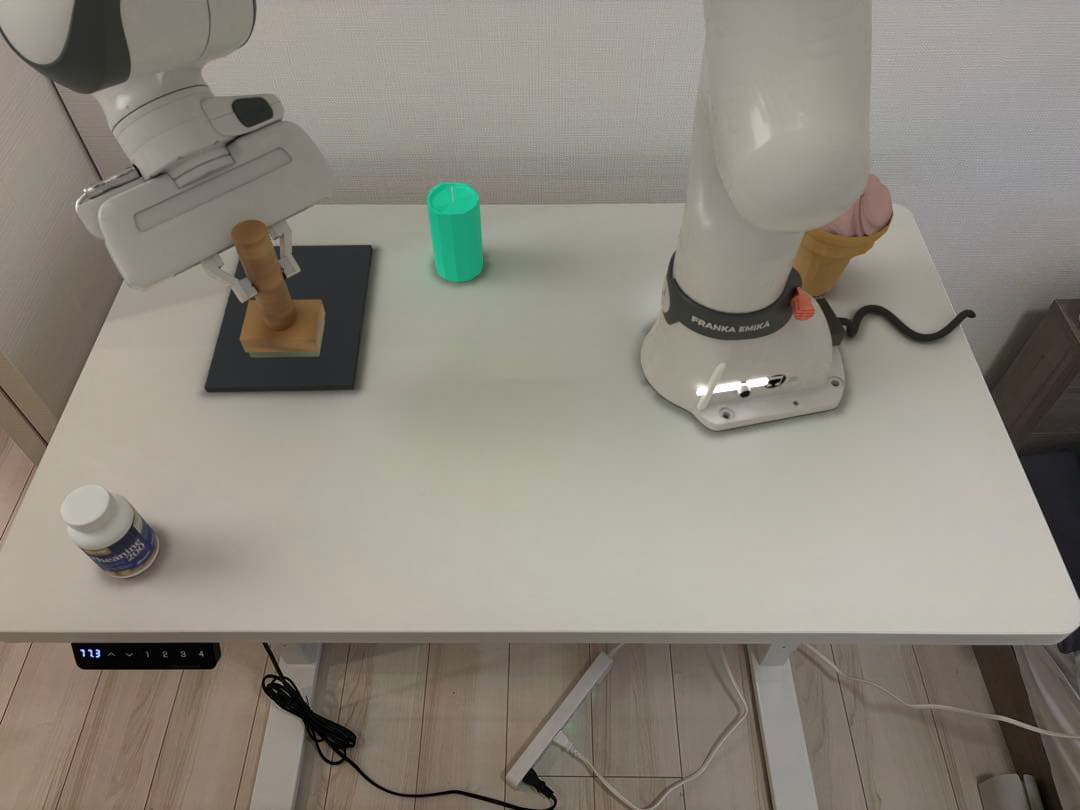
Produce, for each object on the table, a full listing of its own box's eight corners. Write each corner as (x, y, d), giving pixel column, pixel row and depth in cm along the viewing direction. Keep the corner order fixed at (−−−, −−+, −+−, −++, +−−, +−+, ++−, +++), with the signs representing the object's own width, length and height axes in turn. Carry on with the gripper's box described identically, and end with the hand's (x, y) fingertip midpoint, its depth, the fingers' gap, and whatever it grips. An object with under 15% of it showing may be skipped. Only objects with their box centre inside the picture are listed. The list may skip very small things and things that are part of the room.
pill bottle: (107, 589, 73) (56, 543, 65) (97, 542, 76) (46, 492, 68) (166, 564, 75) (123, 516, 67) (154, 519, 78) (112, 467, 70)
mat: (372, 249, 100) (371, 244, 99) (353, 389, 87) (352, 385, 86) (244, 251, 99) (242, 246, 99) (206, 392, 87) (204, 387, 86)
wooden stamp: (327, 319, 80) (295, 211, 68) (321, 358, 77) (286, 251, 65) (257, 320, 79) (212, 211, 68) (248, 359, 77) (200, 252, 65)
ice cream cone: (775, 317, 94) (827, 180, 77) (757, 252, 100) (802, 113, 84) (866, 316, 94) (937, 178, 78) (842, 251, 100) (903, 112, 84)
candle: (482, 282, 96) (477, 205, 87) (432, 282, 96) (422, 204, 87) (484, 248, 100) (480, 170, 90) (437, 247, 100) (427, 169, 90)
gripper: (61, 187, 61) (167, 343, 65) (292, 87, 69) (374, 231, 73) (64, 203, 66) (162, 346, 70) (278, 109, 75) (355, 242, 78)
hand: (272, 287), depth 72 cm, fingers closed on wooden stamp, 3 cm apart
